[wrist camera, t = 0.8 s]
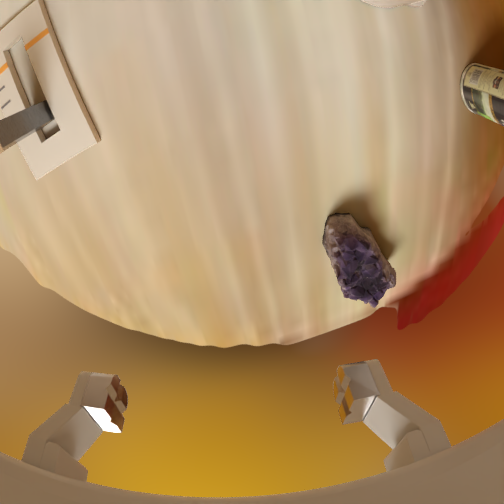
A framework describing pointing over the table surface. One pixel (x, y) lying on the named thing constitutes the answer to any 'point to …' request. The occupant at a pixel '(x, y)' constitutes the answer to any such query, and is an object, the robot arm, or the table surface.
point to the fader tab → (24, 124)
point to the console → (54, 88)
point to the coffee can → (484, 91)
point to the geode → (357, 260)
